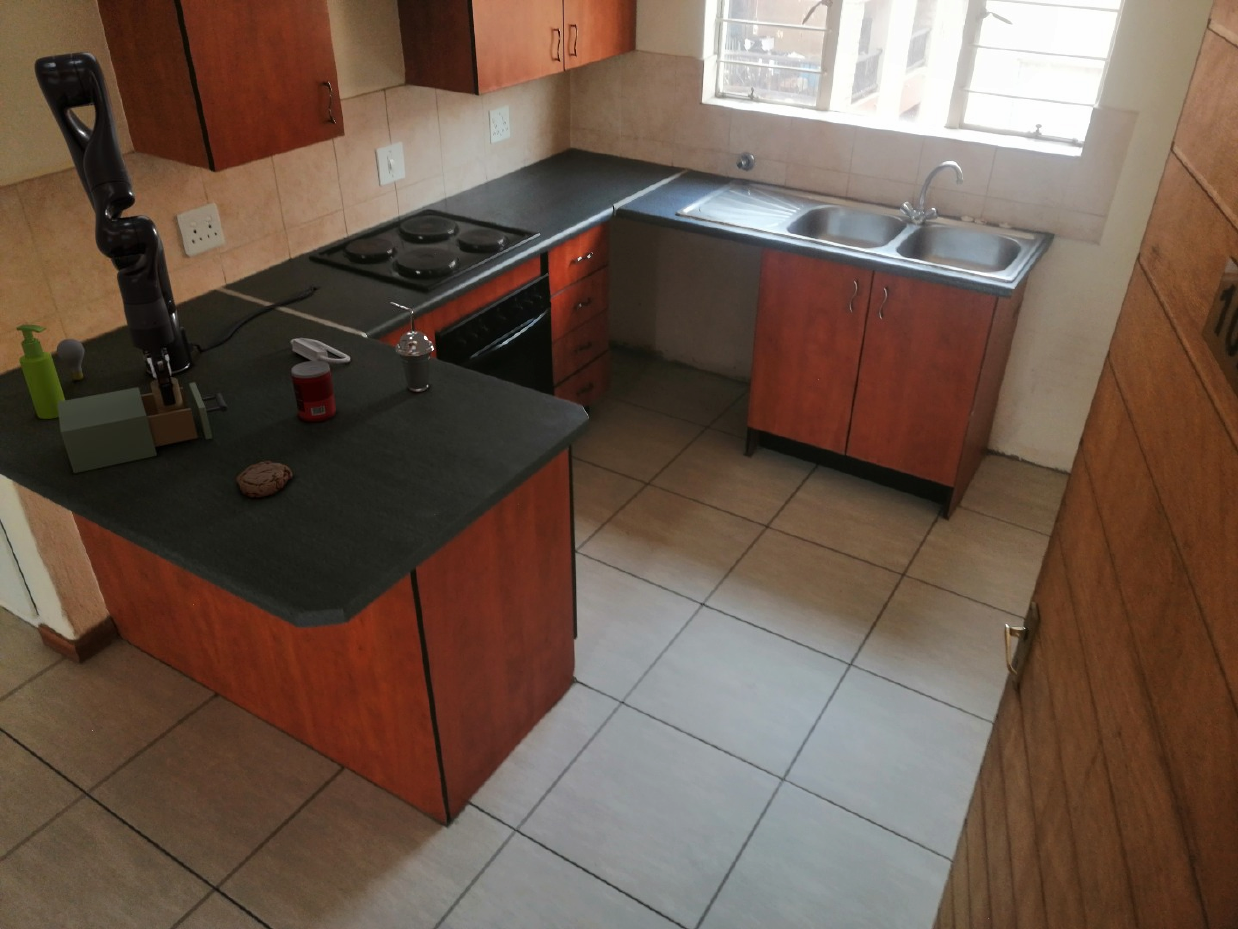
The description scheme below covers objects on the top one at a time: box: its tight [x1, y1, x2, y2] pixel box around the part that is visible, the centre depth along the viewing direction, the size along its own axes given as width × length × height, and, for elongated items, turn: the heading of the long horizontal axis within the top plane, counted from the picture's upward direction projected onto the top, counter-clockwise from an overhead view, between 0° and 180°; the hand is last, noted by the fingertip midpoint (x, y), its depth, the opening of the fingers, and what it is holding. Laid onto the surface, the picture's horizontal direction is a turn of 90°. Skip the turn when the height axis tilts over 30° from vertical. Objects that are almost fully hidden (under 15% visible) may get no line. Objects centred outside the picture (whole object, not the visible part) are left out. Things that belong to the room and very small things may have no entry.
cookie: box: [236, 460, 294, 498], centre depth 177 cm, size 10×11×3 cm
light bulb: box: [56, 338, 85, 381], centre depth 215 cm, size 6×6×10 cm
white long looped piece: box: [289, 337, 351, 364], centre depth 230 cm, size 20×8×4 cm, turn 47°
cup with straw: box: [389, 301, 435, 393], centre depth 211 cm, size 8×9×20 cm
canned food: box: [290, 360, 337, 423], centre depth 200 cm, size 8×8×11 cm
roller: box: [150, 376, 184, 414], centre depth 190 cm, size 5×5×12 cm
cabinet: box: [57, 387, 158, 474], centre depth 187 cm, size 15×15×9 cm
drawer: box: [140, 382, 228, 448], centre depth 193 cm, size 18×14×7 cm
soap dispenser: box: [16, 324, 66, 420], centre depth 197 cm, size 6×7×20 cm
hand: (167, 397), depth 190 cm, fingers open, 7 cm apart
